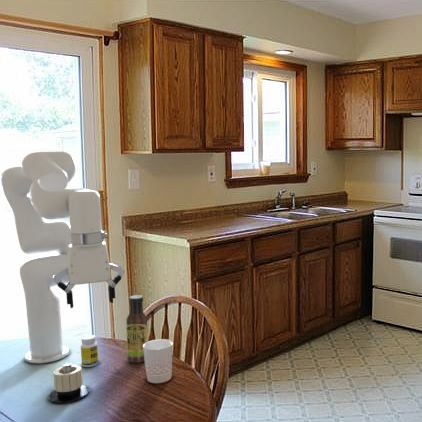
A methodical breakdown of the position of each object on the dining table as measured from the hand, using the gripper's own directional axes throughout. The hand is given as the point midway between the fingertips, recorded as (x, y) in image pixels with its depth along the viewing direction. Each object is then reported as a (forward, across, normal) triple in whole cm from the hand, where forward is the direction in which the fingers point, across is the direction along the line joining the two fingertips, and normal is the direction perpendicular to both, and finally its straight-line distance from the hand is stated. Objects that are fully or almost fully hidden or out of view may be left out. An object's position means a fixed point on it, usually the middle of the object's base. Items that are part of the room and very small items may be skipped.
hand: (91, 304), depth 138 cm
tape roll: (+22, +7, -3) cm, 23 cm away
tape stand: (+24, +7, -3) cm, 26 cm away
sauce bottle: (+25, -13, -18) cm, 33 cm away
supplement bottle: (+25, 0, -22) cm, 33 cm away
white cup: (+25, -16, -2) cm, 30 cm away
